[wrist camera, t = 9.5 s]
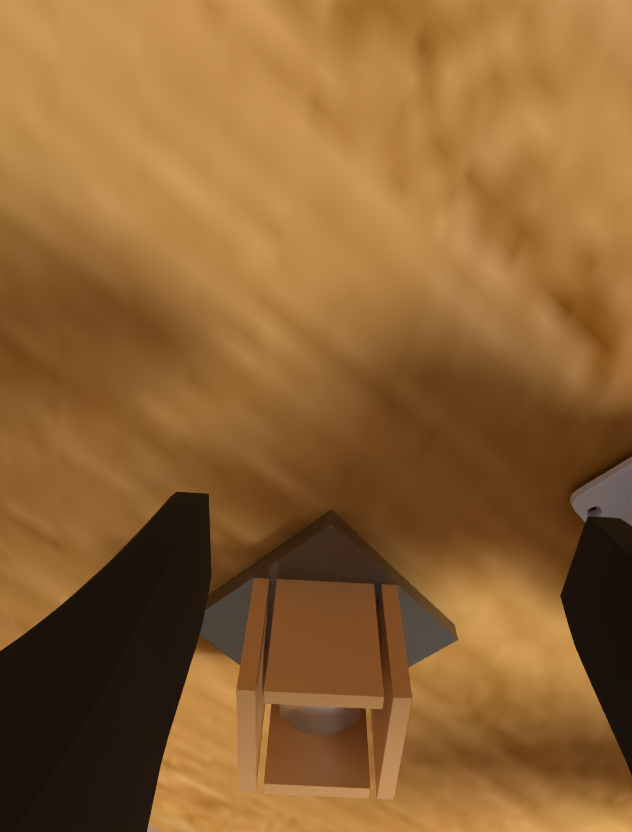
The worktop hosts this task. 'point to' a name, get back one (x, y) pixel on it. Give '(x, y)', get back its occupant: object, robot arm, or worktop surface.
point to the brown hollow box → (323, 687)
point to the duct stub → (334, 562)
